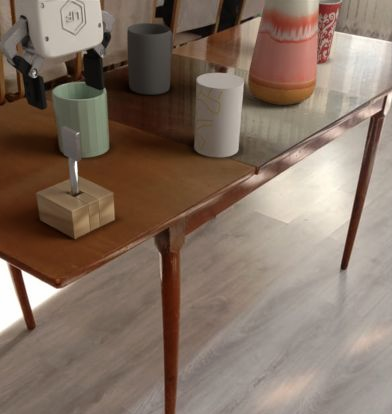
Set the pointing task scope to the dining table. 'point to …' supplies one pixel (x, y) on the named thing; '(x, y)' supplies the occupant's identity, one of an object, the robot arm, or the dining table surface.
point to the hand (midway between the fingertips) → (67, 96)
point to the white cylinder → (218, 114)
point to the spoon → (72, 156)
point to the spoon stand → (76, 207)
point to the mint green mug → (82, 116)
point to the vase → (285, 52)
